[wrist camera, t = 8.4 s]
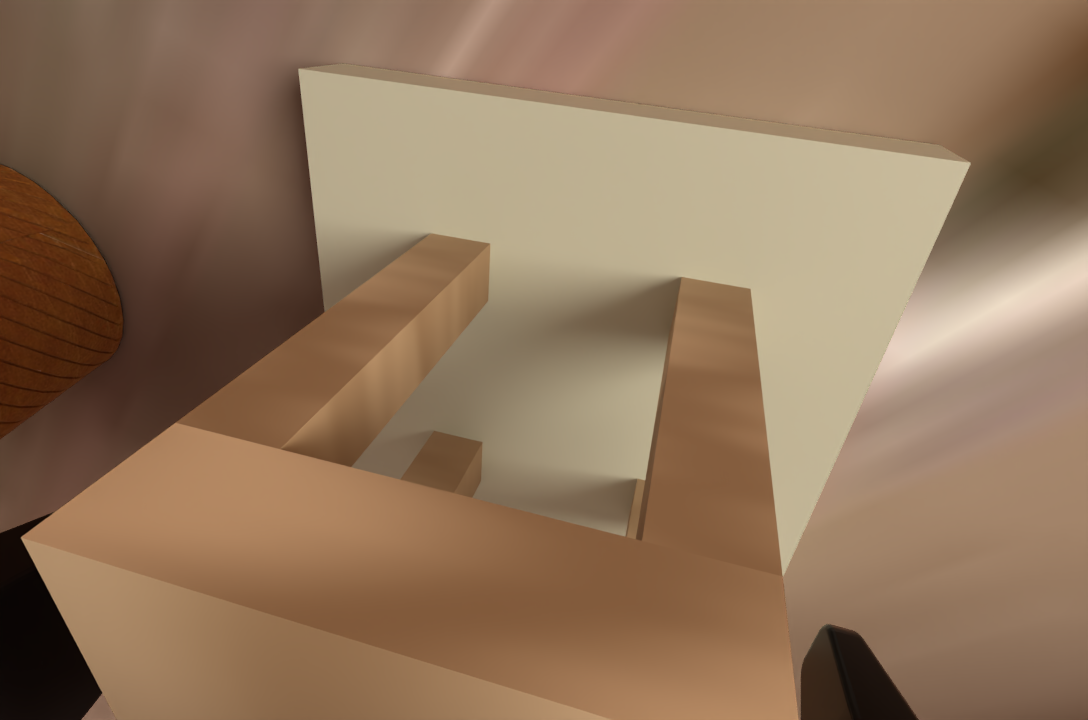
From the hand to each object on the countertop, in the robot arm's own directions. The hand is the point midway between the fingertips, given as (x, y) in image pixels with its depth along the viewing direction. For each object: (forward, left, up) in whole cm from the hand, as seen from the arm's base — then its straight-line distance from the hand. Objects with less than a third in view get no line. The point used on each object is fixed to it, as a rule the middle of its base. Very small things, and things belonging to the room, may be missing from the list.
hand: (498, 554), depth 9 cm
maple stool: (0, 0, -4) cm, 4 cm away
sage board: (0, 0, -6) cm, 6 cm away
